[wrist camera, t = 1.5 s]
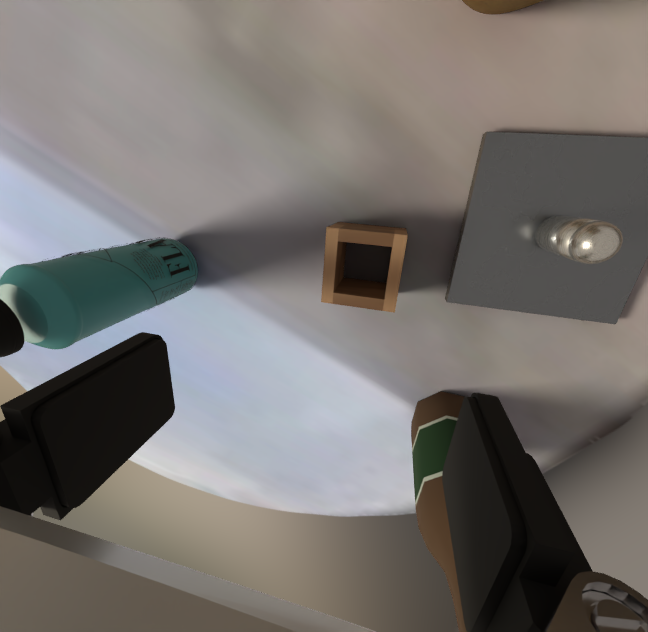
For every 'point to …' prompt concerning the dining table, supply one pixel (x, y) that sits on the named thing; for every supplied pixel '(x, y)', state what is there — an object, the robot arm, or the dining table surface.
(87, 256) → the beverage bottle
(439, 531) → the beer bottle
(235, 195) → the dining table surface
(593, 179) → the post block
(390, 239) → the walnut collar
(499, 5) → the plant pot
